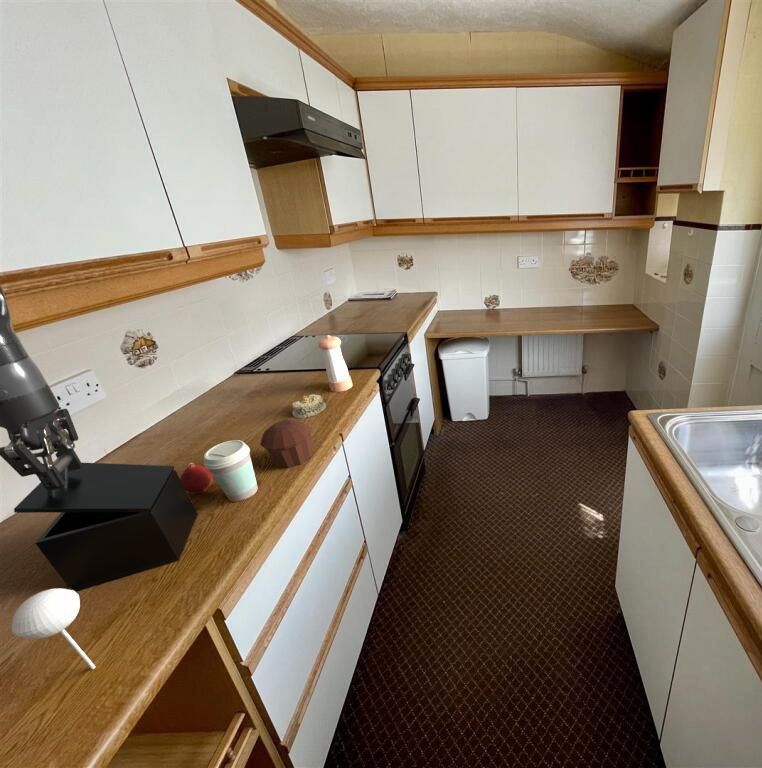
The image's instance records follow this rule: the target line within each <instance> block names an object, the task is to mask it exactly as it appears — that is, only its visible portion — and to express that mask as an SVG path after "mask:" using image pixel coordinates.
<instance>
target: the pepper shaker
mask: <svg viewBox="0 0 762 768" xmlns="http://www.w3.org/2000/svg"><path fill="white" fill-rule="evenodd" d="M341 344H342V340H341V339H340V338H339V337H338V336H334V335H330V334H327V335H325V337H323V338H321V339H319V341H318V348H319V349H321V350H322V353H323V357H324V360H325V361H324V362H325V370H326V375H327V378H328V379H327V380H328V385H329V389H330V391H331V392H334V393H339V392H340V393H341V392H345V391H347V390H350V389H351V388H353V381H352V378H351V375H350V373H349V370H348V369H349V368H348V367H347V364H346V362H345V359H344V357H343V354H342V353H343V352H342V349H341Z"/></svg>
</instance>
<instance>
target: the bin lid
mask: <svg viewBox="0 0 762 768" xmlns="http://www.w3.org/2000/svg"><path fill="white" fill-rule="evenodd" d="M71 461H72V457H71V456H70V455H67V454H63V455H60V456H59V457H58V458H57V457H56V458H55V460H53V464H54V467H56V468H57V470H58V472H59V473H60V475H61V476H62V478H63V480H64V481H65V483H66V484H65V485H64V486H63V487H62V488H59V489H55V490H47V489H46V488H44V486H43V484H42V482H41V481H40V482H39V483H38V484H37V485H36V486H35V488H33V489H32V490H31V491H30V492H29V493H28V494H27V495H26V496H25V497H24V498H23V499H22V500H21V501H20V502H19V503H18V504H17V505H16V506H15V507H14V508H13V513H15V514H16V513H17V514H19V513H23V514H25V513H26V514H27V513H28V514H29V513H30V514H31V513H32V514H33V513H36V514H37V513H43V514H44V513H47V514H50V513H51V514H52V513H61V512H150V511H151V509H152V507H153V505H154V504H155V502H156V500H157V498H158V497H159V495H160V493H161V491H162V489H163V488H164V486H165V484H166V482H167V481H168V479H169V477H170V475H171V474H172V472H173V470H175V465H160V464H159V465H158V464H157V465H155V464H133V463H131V464H129V463H102V462H81V463H82V467H81V468H80V469H77V470H72V471H68V464H69V463H70V462H71Z"/></svg>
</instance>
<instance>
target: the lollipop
mask: <svg viewBox="0 0 762 768" xmlns="http://www.w3.org/2000/svg"><path fill="white" fill-rule="evenodd" d="M80 609H81V600H80V595H79V593H77V592H75V591H73V590H71V589H67V588H58V587H56V588H50V589H44V590H42V591H40V592H37V593H35V594H33V595H32V596H30V597H29V598H27V599H26V600H24V601H23V602H22V603H21V604H20V606H19V607H18V608H17V609H16V611H15V613H14V615H13V616H12V623H11V626H10V627H11V632H12V633H13V634H14V636H17V637H20V638H23V639H26V640H42V639H47V638H49V637H51V636H55V635H56V634H59V633H60V634H61V635H62V637H63V638H64V639H65V640H66V641H67V643H68V644H69V645H70V646H71V647H72V649H74V651H75V652H76V653H77V654H78V656H79V657H80V658H81V659H82V660H83V661H84V663H85V664H86V665H87V666H88V667H89V669H90V670H92V671H93V670H94V669H96V667H97V666H96V665H95V664H94V662H93V661H92V659H90V658H89V656H88V655H87V654H86V653H85V652H84V651H83V650H82V648H81V647H80V646H79V645H78V643H77V642H76V641H75V640H74V639H73V638H72V636H71V635H70V633H68V632H67V630H66V628H68V627H69V626H70V625H71V624H72V622H74V621H75V620H76V618H77V616H78V614H79V612H80Z"/></svg>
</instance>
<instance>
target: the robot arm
mask: <svg viewBox="0 0 762 768" xmlns="http://www.w3.org/2000/svg"><path fill="white" fill-rule="evenodd" d="M59 408H60V403H59V401H58V400H57V398H56V396H55V395H54V392H53V390H52V389H51V387H50V386H49V384H48V382H47V380H46V378H45V377H44V375H43V373H42V372H41V370H40V368H39V367H38V365H37V364H36V363H35V362H34V361H33V359H32V358H31V356H30V355H29V353H28V351H27V349H26V348H25V346H24V345H23V343H22V340H21V339H20V337H19V336H18V335H17V333H16V332H15V329H14V328H13V323H12V318H11V312H10V310H9V305H8V303H7V299H6V295H5V292H4V289H3V286H2V284H0V428H3V429H5V430H6V432H7V435H8V439H9V443H8V444H7V445H6V446H1V447H0V457H1V458H2V459H3V460H4V461H5V462H6V463H7V464H8V465H9V466H10V467H11V468H12V469H13V470H14V471H15V472H16V473H17V474H18V475H19V476H20V477H22V478H24V477H28V476H32V475H35V476H36V477H37V478H38V480H39V481H40V483H41V482H42V484H43V486H44V488H46V489H47V490H55V489H59V488H62V487H63V486H64V485H65V484H66V483H65V481H64V480H63V478H62V476H61V475H60V473H59V472H58V470H57V468H56V467H54V464H53V462H54V460H53V457H52V456H53V454H55V457H56V459H57V458H58V457H59V456H60V455H63V454H67V455H70V456H71V457H72V461H71V462H70V463H69V464H68V471H72V470H77V469H80V468H81V467H82V463H83V462H82V461H81V460H80V458H79V457H78V455H77V453H76V451H75V450H74V449H75V448H76V444H75V442H76V441H79V436H78V432H77V429H76V428H75V427H76V426H75V425H74V422H73V420H72V417H71V414H70V411H69V410H68V409H67V408H61V409H59ZM39 450H42V451H39ZM34 451H39V452H34ZM39 458H40V459H42V462H43V463H42V462H41V460H39Z"/></svg>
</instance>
